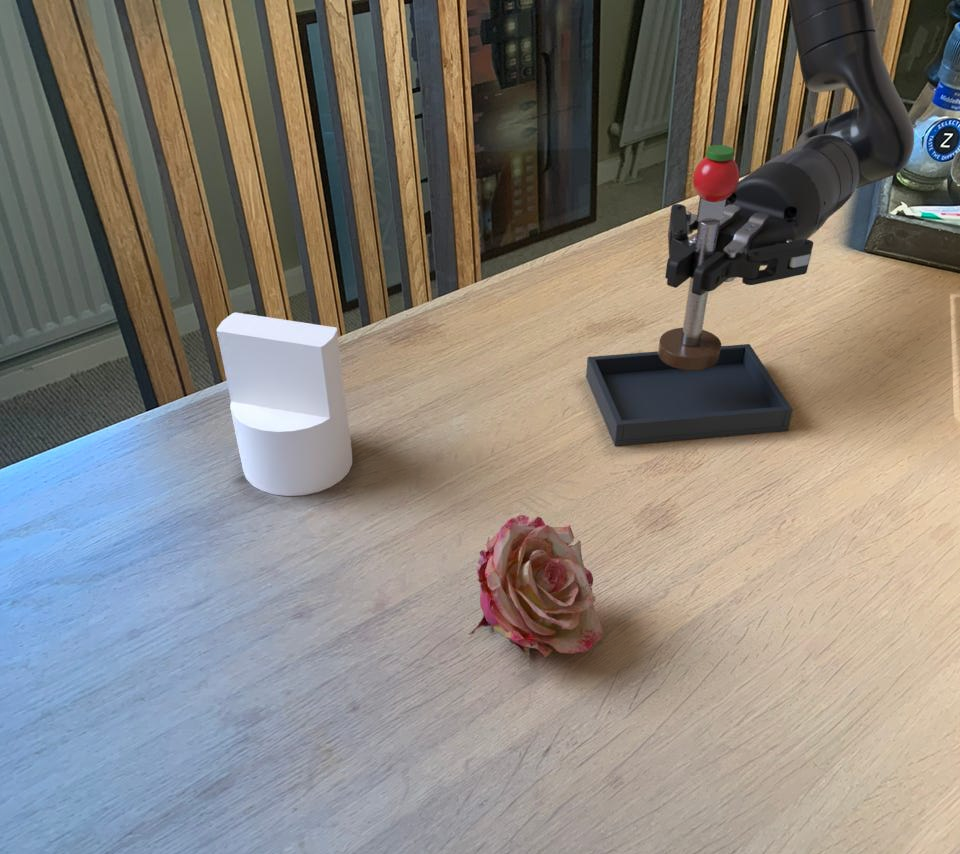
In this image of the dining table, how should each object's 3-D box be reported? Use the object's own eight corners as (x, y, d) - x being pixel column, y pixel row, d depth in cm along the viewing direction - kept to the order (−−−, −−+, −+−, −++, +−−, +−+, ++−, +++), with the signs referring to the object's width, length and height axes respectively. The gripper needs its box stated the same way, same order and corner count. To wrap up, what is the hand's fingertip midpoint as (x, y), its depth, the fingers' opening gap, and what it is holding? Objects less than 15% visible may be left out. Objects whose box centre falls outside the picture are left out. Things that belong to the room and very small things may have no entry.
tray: (745, 364, 96) (749, 343, 94) (788, 430, 88) (793, 409, 86) (585, 377, 94) (587, 356, 93) (614, 446, 86) (616, 424, 85)
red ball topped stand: (708, 337, 90) (743, 134, 78) (727, 368, 86) (766, 160, 74) (651, 342, 89) (676, 138, 77) (667, 373, 86) (696, 164, 74)
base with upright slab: (223, 485, 83) (193, 349, 74) (272, 425, 89) (249, 294, 80) (326, 504, 81) (307, 368, 72) (368, 442, 87) (355, 309, 78)
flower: (422, 635, 68) (480, 591, 61) (467, 532, 72) (525, 480, 66) (540, 706, 70) (607, 671, 64) (575, 602, 75) (641, 559, 69)
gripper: (717, 144, 90) (613, 209, 81) (866, 180, 85) (774, 255, 75) (704, 228, 96) (605, 299, 86) (844, 267, 90) (755, 349, 80)
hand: (685, 278), depth 80 cm, fingers closed on red ball topped stand
